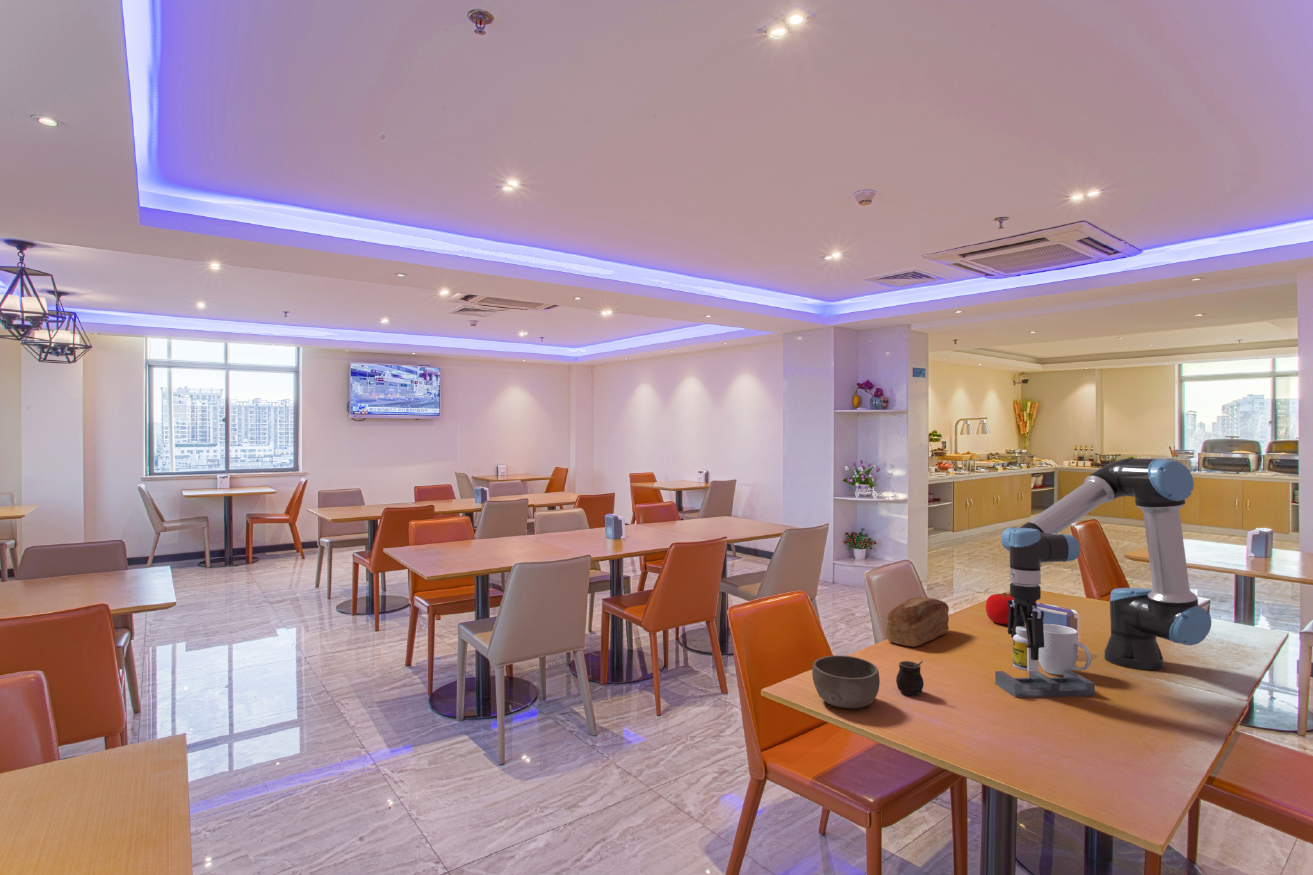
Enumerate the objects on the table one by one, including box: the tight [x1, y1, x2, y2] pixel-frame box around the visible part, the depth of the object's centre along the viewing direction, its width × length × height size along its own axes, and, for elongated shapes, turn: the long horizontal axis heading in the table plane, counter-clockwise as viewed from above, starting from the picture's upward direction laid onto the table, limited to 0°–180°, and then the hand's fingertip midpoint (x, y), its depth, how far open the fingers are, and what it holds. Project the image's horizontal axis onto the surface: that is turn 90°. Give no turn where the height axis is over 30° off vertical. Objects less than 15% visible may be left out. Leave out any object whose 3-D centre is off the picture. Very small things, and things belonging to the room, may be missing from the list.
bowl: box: [811, 655, 881, 710], centre depth 176 cm, size 17×18×10 cm
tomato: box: [985, 592, 1014, 626], centre depth 251 cm, size 13×14×12 cm
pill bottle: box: [1012, 625, 1029, 672], centre depth 184 cm, size 6×6×11 cm
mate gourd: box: [895, 660, 925, 697], centre depth 182 cm, size 7×8×10 cm
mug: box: [1038, 623, 1092, 677], centre depth 196 cm, size 15×11×13 cm
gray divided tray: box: [994, 670, 1096, 698], centre depth 184 cm, size 22×10×4 cm, turn 91°
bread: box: [885, 596, 950, 648], centre depth 233 cm, size 12×31×14 cm, turn 133°
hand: (1025, 666), depth 183 cm, fingers closed on pill bottle, 6 cm apart
